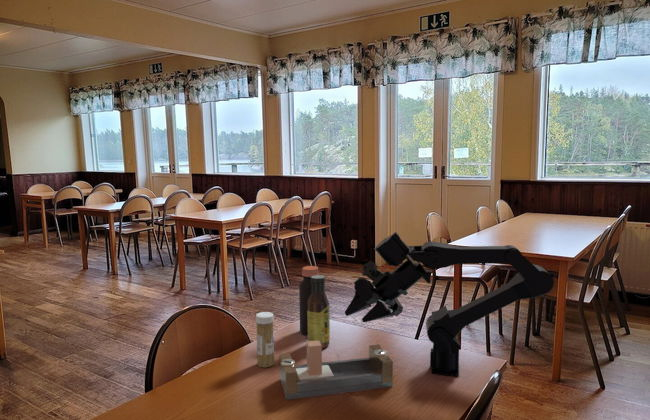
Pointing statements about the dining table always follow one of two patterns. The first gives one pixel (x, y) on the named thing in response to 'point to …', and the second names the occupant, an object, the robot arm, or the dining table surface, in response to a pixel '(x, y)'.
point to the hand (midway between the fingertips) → (354, 317)
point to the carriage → (314, 364)
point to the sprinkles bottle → (265, 339)
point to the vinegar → (305, 295)
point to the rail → (339, 375)
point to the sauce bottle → (318, 312)
